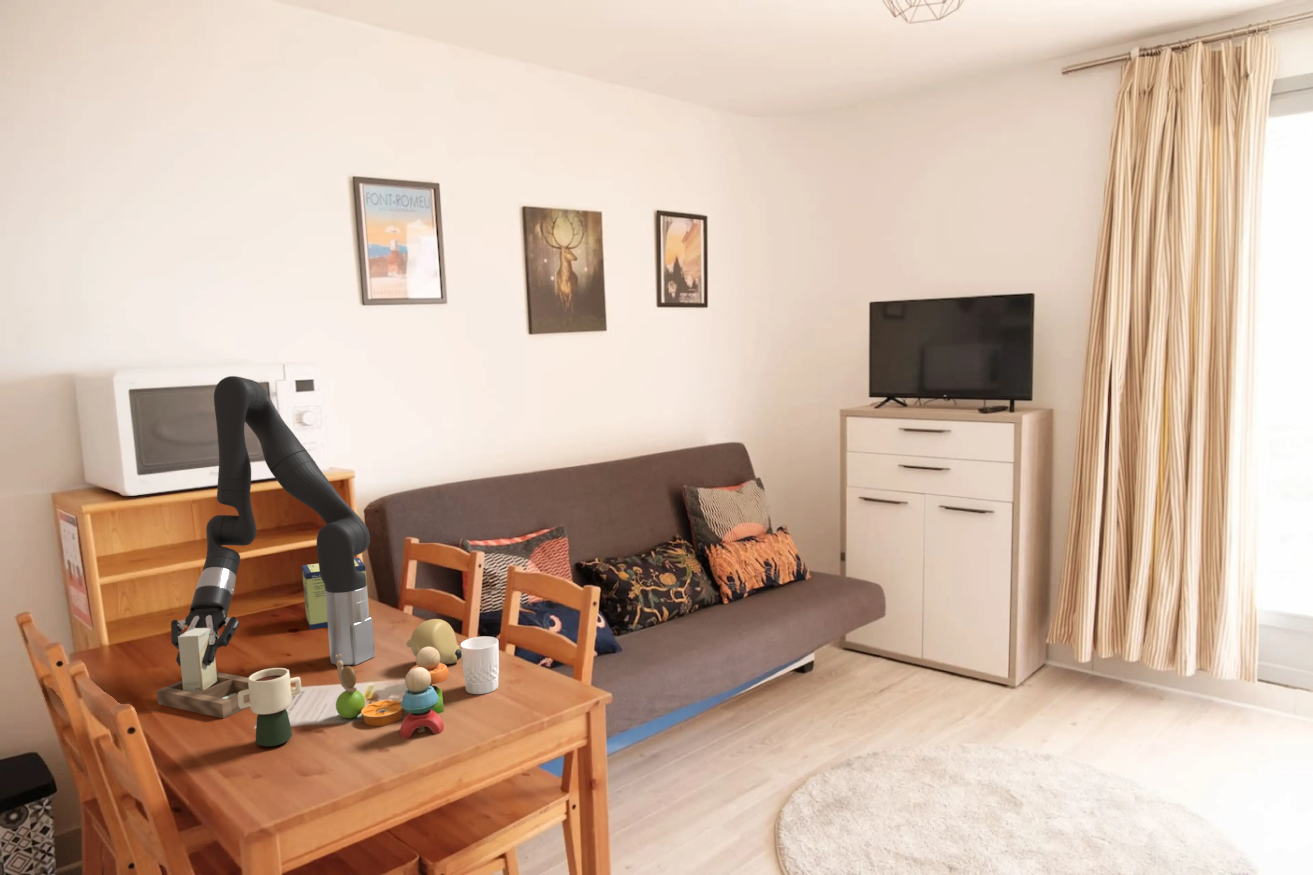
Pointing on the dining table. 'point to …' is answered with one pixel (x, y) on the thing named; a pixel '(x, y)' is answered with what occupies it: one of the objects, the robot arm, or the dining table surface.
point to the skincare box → (196, 660)
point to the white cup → (480, 664)
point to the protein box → (319, 594)
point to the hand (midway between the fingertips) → (194, 664)
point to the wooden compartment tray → (207, 696)
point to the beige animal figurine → (436, 640)
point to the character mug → (270, 704)
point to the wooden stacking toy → (414, 698)
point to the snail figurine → (348, 692)
